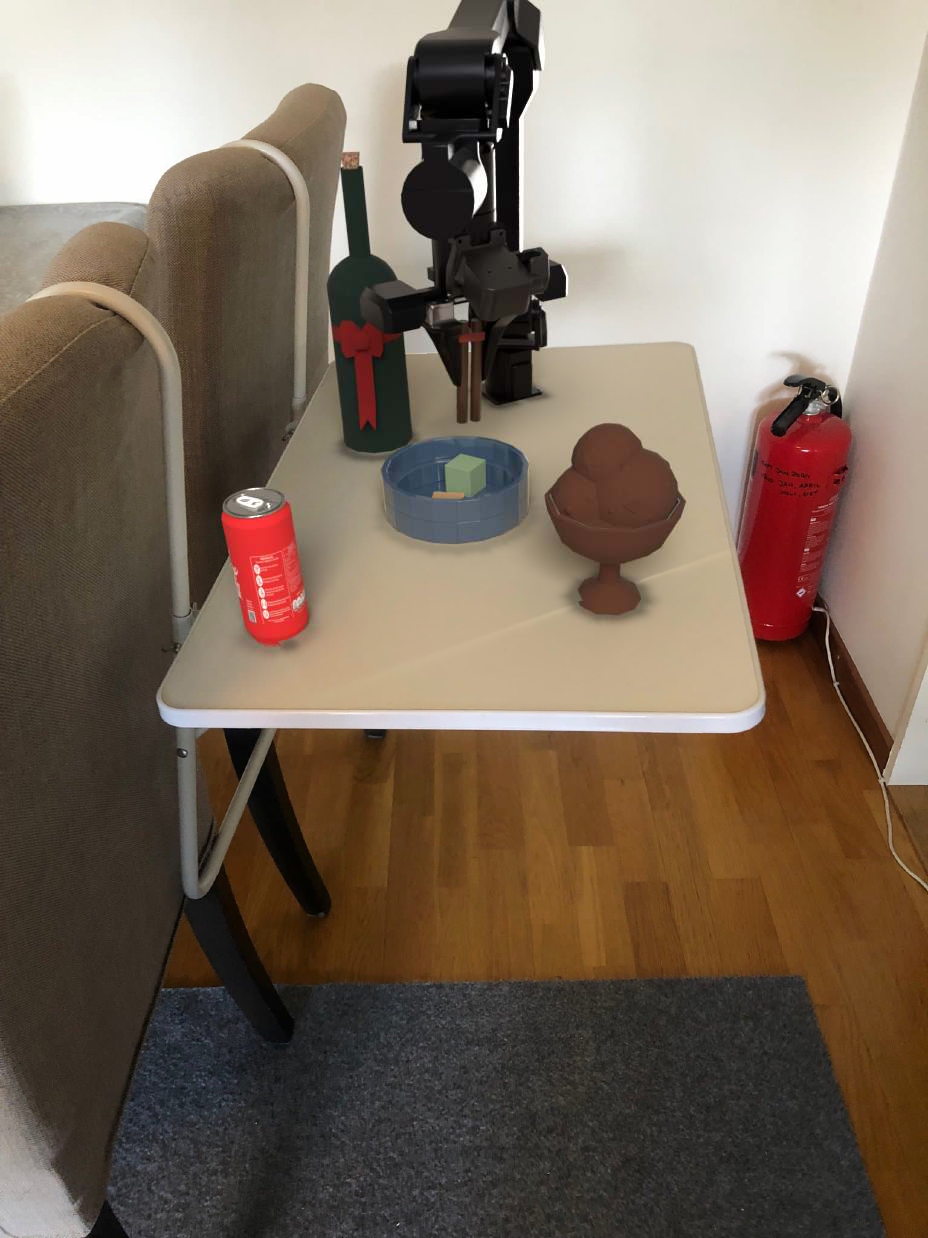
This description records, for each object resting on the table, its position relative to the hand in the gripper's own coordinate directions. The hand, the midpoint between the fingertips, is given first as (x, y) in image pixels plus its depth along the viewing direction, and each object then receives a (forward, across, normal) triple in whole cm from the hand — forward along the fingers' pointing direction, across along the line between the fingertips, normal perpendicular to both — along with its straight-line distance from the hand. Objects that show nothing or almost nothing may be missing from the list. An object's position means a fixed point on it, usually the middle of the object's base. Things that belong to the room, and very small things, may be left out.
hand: (469, 382), depth 88 cm
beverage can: (+11, -26, -14) cm, 31 cm away
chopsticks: (+4, 0, 0) cm, 4 cm away
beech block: (+11, -6, -7) cm, 14 cm away
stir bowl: (+12, -4, -3) cm, 13 cm away
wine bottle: (+12, -4, +15) cm, 20 cm away
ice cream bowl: (+11, 0, -23) cm, 26 cm away
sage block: (+11, -1, 0) cm, 11 cm away
